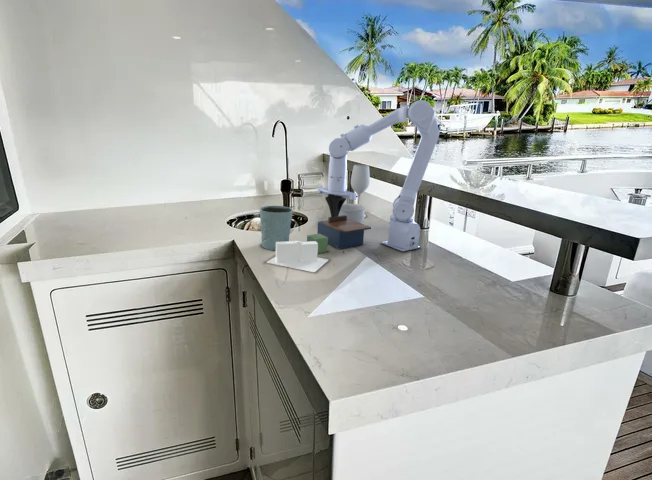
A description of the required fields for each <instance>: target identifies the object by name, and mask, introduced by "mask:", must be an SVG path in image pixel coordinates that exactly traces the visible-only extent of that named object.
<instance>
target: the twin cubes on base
mask: <svg viewBox="0 0 652 480" xmlns="http://www.w3.org/2000/svg"><path fill="white" fill-rule="evenodd" d="M318 254H319V253H318V243H317V242H316V241H309V242H307V241H301V240H289V241H284V242H276V250H275V256H274V257H272V258H270V259H269V260H267V261H266V262H265V263H266V264H272V265H276V266H281V267H286V268H290V269H295V270H301V271H306V272H309V273H316V272H317V271H318V270H320V269H321V267H323V266H324V265H325V264H326V263H327V262H328V261H329V260H330V259H329V258H324V257H318Z"/></svg>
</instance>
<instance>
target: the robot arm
mask: <svg viewBox="0 0 652 480" xmlns="http://www.w3.org/2000/svg"><path fill="white" fill-rule="evenodd" d="M408 120H409V122H411V124H413V125H414V126H415V127H416V129H417V131H418V133H419V135H420V140H419V141H418V145H417V148H416V151H415V152H414V155H413V159H412V162H411V164H410V166H409V169H408V172H407V175H406V177H405V180H404V182H403V184H402V185H403V186H402V188H401V190H400V192H399V195H398V196H397V197H396V198H395V199H394V201H393V202H392V214H391V215H390V219H389V226H388V233H387V240H384V241H381V244H382V245H385V246H387V247H389V248H392V249H395V250H398V251H399V252H406V251H407V252H408V251H411V250H416V249H417V250H418V249H420V248H421V247H420V245H419V244H420V238H421V225H420V224H419V223H417V222H415V218H414V213H415V202H416V200H417V195H418V192H419V189H420V186H421V184H422V181H423V179H424V176H425V173H426V171H427V169H428V165H429V163H430V161H431V158H432V155H433V152H434V151H435V147H436V145H437V142H438V140H439V137H440V129H439V126H438V125H439V124H438V121H437V117H436V111H435V110H434V108H433V106H432V105H431V104H430V103H429V102H428V101H426V100H423V99H419V100H416V101H414V102H412V104H410V103H409V104H406V105H403V106H401V107H399V108H397V109H394V110H393V111H391V112H389V113H388V114H386V115H385V116H383V117H381V118H380V119H378V120H376V121H374V122H373V123H370V124H369V125H365V124H360V125H359V124H356V125H354V126H353V129H351V130H349V131H348V132H346V133H342V134H340V135H339V136H340V137H336V138H334V139H333V140H332V141H331V142H330V143H329V145H328V152H329V162H328V177H327V187H323V186H321V187H317V194H322V195H327V196H325V201H326V203H327V205H328V208H329V213H330V217H334V216H338V215H339V212H340V209H341V207H342V205H343V203H345V202H346V201H347V200H350V201H354V200H357V193H356V192H352V191H349V190H346V184H347V183H346V182H347V181H346V180H347V171H348V170H347V169H348V163H347V162H348V161H347V159H348V153H349V152H354V151H356V150H357V149H360V147H363V146H364V145H366V144H368V143H370V142H371V140H372V137H373V136H374V135H375V134H377V133H380V132H381V131H383V130H385V129H387V128H389V127H391V126H393V125H395V124H397V123H407V122H408Z"/></svg>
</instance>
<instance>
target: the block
mask: <svg viewBox="0 0 652 480" xmlns="http://www.w3.org/2000/svg"><path fill="white" fill-rule="evenodd" d="M309 241H316V242H317V243H318V254H322V253H327V252H328V245H329V244H328V237H326V236H324V235H321V234H317V233H314V234H308V235H306V242H309Z"/></svg>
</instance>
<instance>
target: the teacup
mask: <svg viewBox="0 0 652 480" xmlns="http://www.w3.org/2000/svg"><path fill="white" fill-rule="evenodd" d="M365 209H366V207H365V206H364V205H362V204H359V205H358V204H357V203H345V202H344V203H343V205H342V207H341V209H340V212H339V215H338V216H342V215H346V216H347V219H350V220H353V221H355V222H358V223H361V224H363V223H364V220H365V217H364V215H365Z"/></svg>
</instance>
